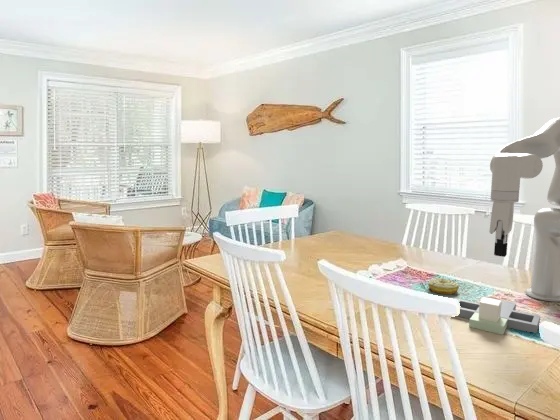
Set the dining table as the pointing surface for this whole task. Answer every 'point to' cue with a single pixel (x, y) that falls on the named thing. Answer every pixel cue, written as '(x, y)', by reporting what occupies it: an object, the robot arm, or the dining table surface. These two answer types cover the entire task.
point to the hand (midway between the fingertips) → (500, 255)
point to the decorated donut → (443, 286)
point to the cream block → (490, 309)
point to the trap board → (506, 319)
